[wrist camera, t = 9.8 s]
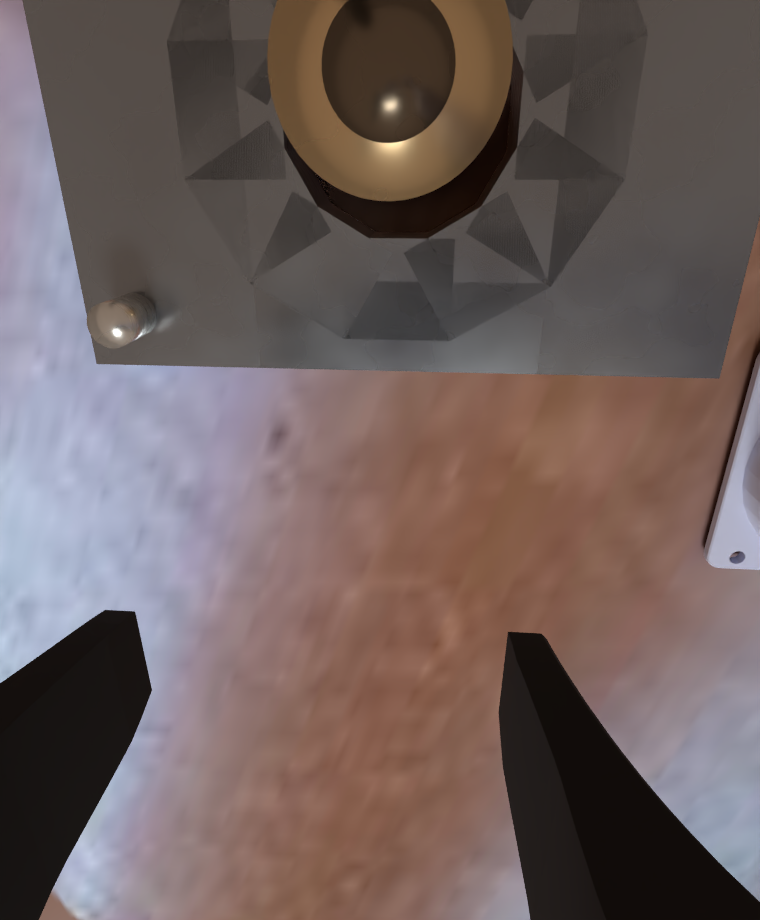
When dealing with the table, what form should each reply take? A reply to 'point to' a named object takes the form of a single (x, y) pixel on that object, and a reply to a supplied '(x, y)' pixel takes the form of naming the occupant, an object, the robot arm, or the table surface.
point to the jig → (410, 253)
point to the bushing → (389, 88)
